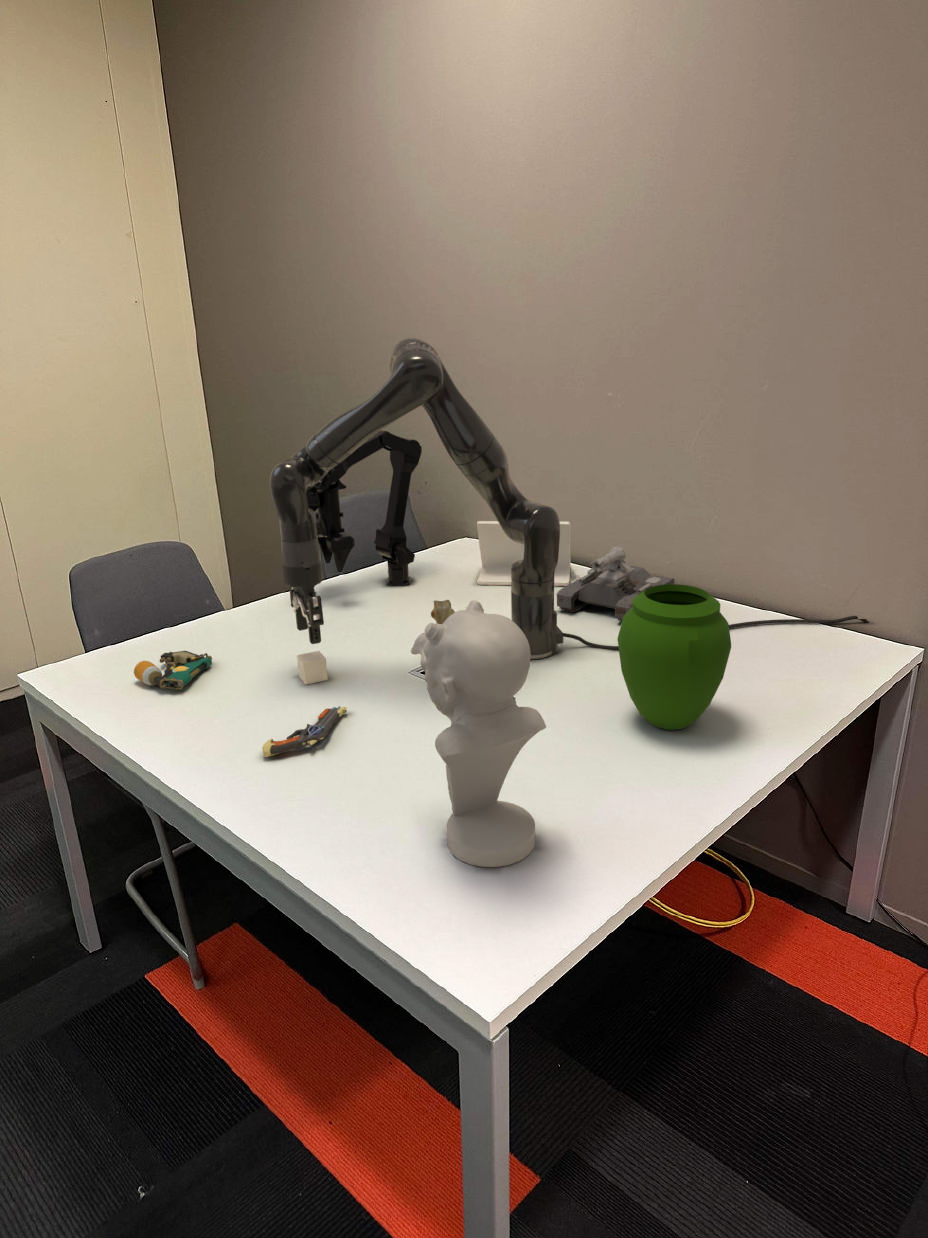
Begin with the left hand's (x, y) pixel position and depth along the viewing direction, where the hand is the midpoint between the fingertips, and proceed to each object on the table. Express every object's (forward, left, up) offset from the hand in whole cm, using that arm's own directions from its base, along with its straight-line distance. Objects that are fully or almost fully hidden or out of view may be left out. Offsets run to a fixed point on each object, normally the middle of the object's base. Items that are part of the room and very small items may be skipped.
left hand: (333, 567), depth 221 cm
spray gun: (+47, -27, -9) cm, 55 cm away
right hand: (+50, +2, +1) cm, 50 cm away
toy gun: (+75, +6, -9) cm, 75 cm away
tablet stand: (-17, +51, -9) cm, 54 cm away
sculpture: (+47, +30, -9) cm, 57 cm away
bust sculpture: (+105, +35, -9) cm, 112 cm away
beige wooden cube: (+49, +2, -9) cm, 50 cm away
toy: (+9, +72, -9) cm, 73 cm away
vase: (+72, +71, -9) cm, 102 cm away
